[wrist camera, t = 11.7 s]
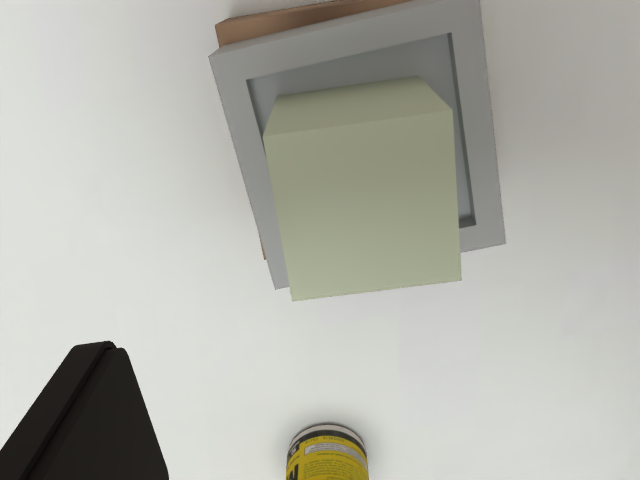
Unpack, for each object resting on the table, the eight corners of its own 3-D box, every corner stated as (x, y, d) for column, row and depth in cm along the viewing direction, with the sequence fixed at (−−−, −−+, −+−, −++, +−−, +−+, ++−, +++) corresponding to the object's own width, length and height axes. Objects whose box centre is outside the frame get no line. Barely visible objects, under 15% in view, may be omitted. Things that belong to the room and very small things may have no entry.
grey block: (456, -10, 23) (478, -7, 19) (482, 210, 26) (505, 243, 23) (223, 45, 23) (208, 56, 20) (280, 251, 27) (275, 289, 24)
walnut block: (456, -20, 26) (478, -19, 23) (469, 196, 30) (489, 228, 27) (228, 18, 27) (214, 25, 23) (270, 225, 31) (264, 259, 27)
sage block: (418, 75, 21) (452, 110, 16) (428, 208, 23) (461, 280, 18) (277, 95, 22) (262, 136, 16) (298, 224, 24) (292, 301, 18)
